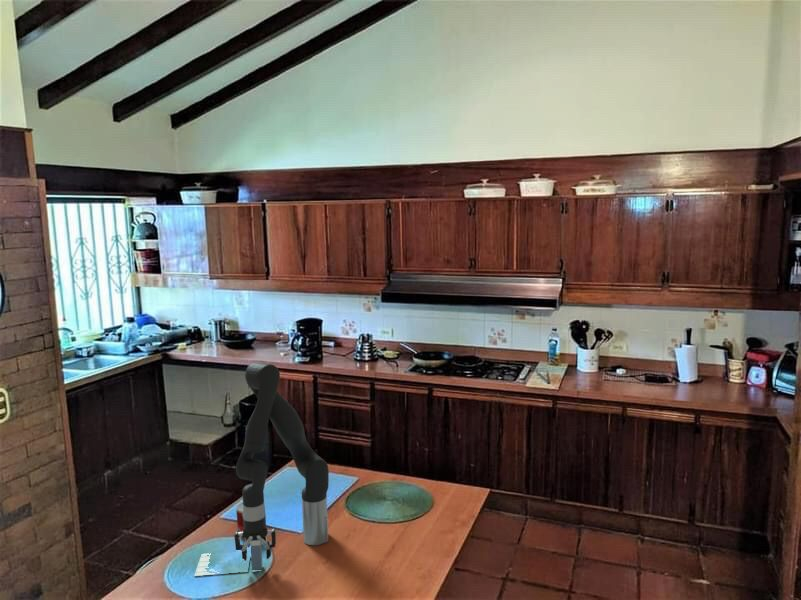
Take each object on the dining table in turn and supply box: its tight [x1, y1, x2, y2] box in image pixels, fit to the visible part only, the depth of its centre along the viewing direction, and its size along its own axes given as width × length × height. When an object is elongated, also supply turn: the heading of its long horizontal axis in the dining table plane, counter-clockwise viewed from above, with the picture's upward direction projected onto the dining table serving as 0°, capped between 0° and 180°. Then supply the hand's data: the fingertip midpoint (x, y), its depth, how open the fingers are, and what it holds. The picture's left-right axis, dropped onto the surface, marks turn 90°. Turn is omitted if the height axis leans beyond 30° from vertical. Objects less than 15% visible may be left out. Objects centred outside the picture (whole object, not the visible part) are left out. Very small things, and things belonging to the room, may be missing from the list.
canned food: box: [235, 502, 245, 539], centre depth 232 cm, size 8×8×11 cm
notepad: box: [193, 552, 219, 578], centre depth 213 cm, size 18×13×1 cm
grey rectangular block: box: [249, 539, 264, 571], centre depth 209 cm, size 3×3×12 cm
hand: (256, 558), depth 209 cm, fingers open, 7 cm apart
